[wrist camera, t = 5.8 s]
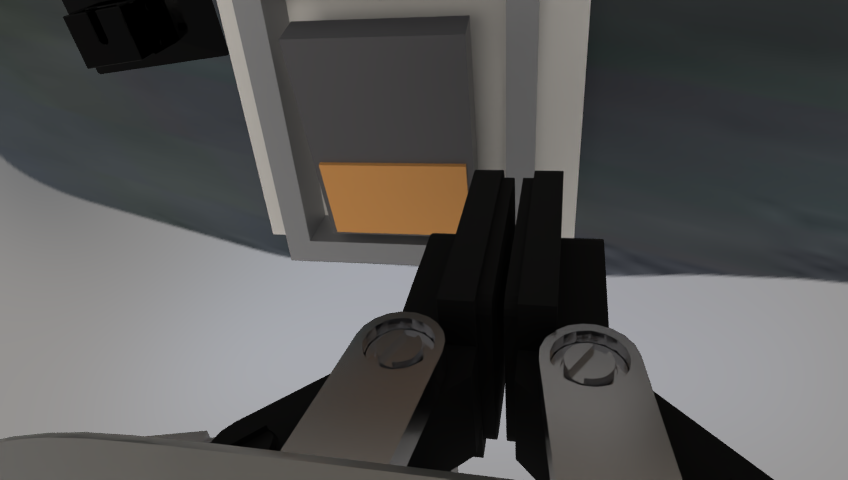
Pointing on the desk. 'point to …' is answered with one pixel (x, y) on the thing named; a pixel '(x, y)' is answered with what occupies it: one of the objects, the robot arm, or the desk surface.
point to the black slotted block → (143, 32)
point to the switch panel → (493, 96)
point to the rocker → (387, 119)
